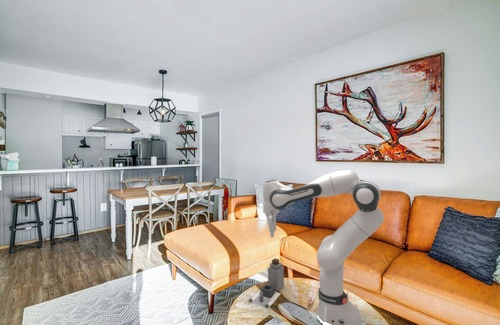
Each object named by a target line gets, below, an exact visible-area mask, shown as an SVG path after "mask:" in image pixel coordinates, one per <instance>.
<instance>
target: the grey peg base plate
mask: <svg viewBox="0 0 500 325" xmlns="http://www.w3.org/2000/svg"><path fill="white" fill-rule="evenodd" d="M281 294H282V293H281V292H280V293H279V292H278V291H275V294H274V295H273V296H272V297H271V298H270V299H269V298H266V297H263V292H262V291H261V289H260V290H258V292H256V294H254V295H253V296H252V298H251V297H250V298H249V299H248V301H247V302H248V303H250V304H252V305H256V306H257V307H261V308H264V309H266V310H267V309H269V308H270V307H271V306H272V305H273V303H275V301H276V300H277V298H279V297H280V295H281Z"/></svg>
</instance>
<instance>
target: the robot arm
mask: <svg viewBox="0 0 500 325" xmlns="http://www.w3.org/2000/svg"><path fill="white" fill-rule="evenodd" d="M343 194H351V195H352V199H353V201H354V203H355V204H356V206H357V209H358V210H357V211H356V212H355V213H354V214H353V215H351V216H350V217H349V218H348V219H347V220H346V221H345V222H344V223H343V224H342V225H341V226H340V227H338V228H337V229H336V230H335V232H334V233H333V234H331V235H327V236H326V237H324V238H323V240H322V241H321V243H320V245H319V248H318V249H317V252H316V260H317V264H318V266H319V279H318V280H319V288H318V291H317V292H318V307H317V311H316V315H318V316H319V318H320V319H321V320H322V321H323V322H327V323H329V324H331V325H367V323H366V320H365V318H364V317H363V316H361V313H360V310H359V308H358V307H357V306H356V305H354V304H353V303H352V302H351V301H350V300H349V293H348V291H347V292H345V291H344V269H345V268H344V266H345V265H344V264H345V260H346V259H347V258H348V257H349V256H350V255H351V254H352V253H353V252H354V251H355V249H357V247H359V245H361V244H362V243H363V242H364V241H366V240H367V239H368V238H369V237H371V236H372V235H373V234H374V233H375V232H377V230H378V229H379V228H380V227H381V226H382V224H383V223H384V221H385V215H384V213H383V211H382V210H381V209H380V208H379V206H378V205H379V201H380V199H381V197H382V196H381V189H380V188H379V186H378V185H377V184H376V183H373V182H372V181H367V180H363V179H360V178H359V175H358V173H357V172H356V171H354V170H353V169H342V170H337V171H332V172H329V173H326V174H324V175H323V174H322V175H321V176H319V177H317V178H316V179H314V180H313V181H311V182H309V183H307V184H305V185H302V186H299V187H298V186H297V187H296V188H295V187H291V186H288V185H285V184H283V183H282V182H279V180H277V179H271V180H267V181H265V182H263V187H262V197H263V202H262V210H263V211H262V212H263V214H265V217H266V221H267V226H268V231H269V233H270V234H269V236H270V238H275V232H276V231H277V218H276V217H277V216H278V214H279V213H280V210H284V209H285V208H287V207H288V206H290V205H292V204H293V203H296V202H300V201H304V200H308V199H313V198H315V199H316V198H326V197H333V196H337V195H343Z"/></svg>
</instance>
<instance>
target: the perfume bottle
mask: <svg viewBox="0 0 500 325" xmlns="http://www.w3.org/2000/svg"><path fill="white" fill-rule="evenodd" d="M284 269H285V267H284V266H283V263H282V262H281V261H280V259H279V258H275V257H274V258H273V259H272V260H271V262H270V263H269V267H267V284H268V285H271V286H275V292H279V291H280V290H281V289H283V288H284V287H285V283H284V282H285V279H284V278H285V274H284V273H285V272H284V271H285V270H284Z"/></svg>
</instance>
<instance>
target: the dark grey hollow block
mask: <svg viewBox="0 0 500 325" xmlns="http://www.w3.org/2000/svg"><path fill="white" fill-rule="evenodd" d="M260 290H261V291H262V292H263V297H266V298H269V299H270V298H271V297H272V296H273V295H274V294H275V292H276V290H275V286H271V285H268V283H265V284H264V285H263V286H262V287H261V288H260Z"/></svg>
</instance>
